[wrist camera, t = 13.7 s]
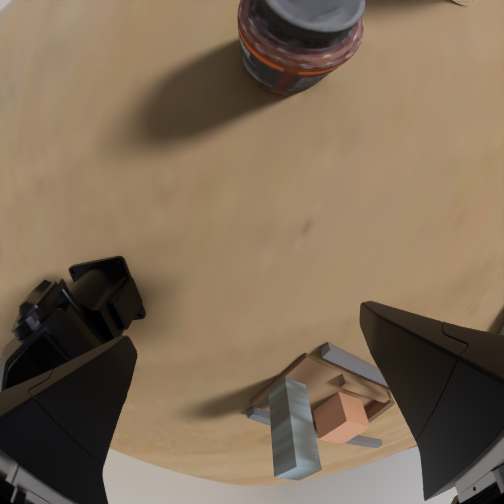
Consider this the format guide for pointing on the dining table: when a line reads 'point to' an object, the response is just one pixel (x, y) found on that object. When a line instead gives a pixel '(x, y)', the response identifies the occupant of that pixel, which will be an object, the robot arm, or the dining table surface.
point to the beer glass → (464, 2)
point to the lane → (349, 363)
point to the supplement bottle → (297, 40)
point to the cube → (340, 418)
